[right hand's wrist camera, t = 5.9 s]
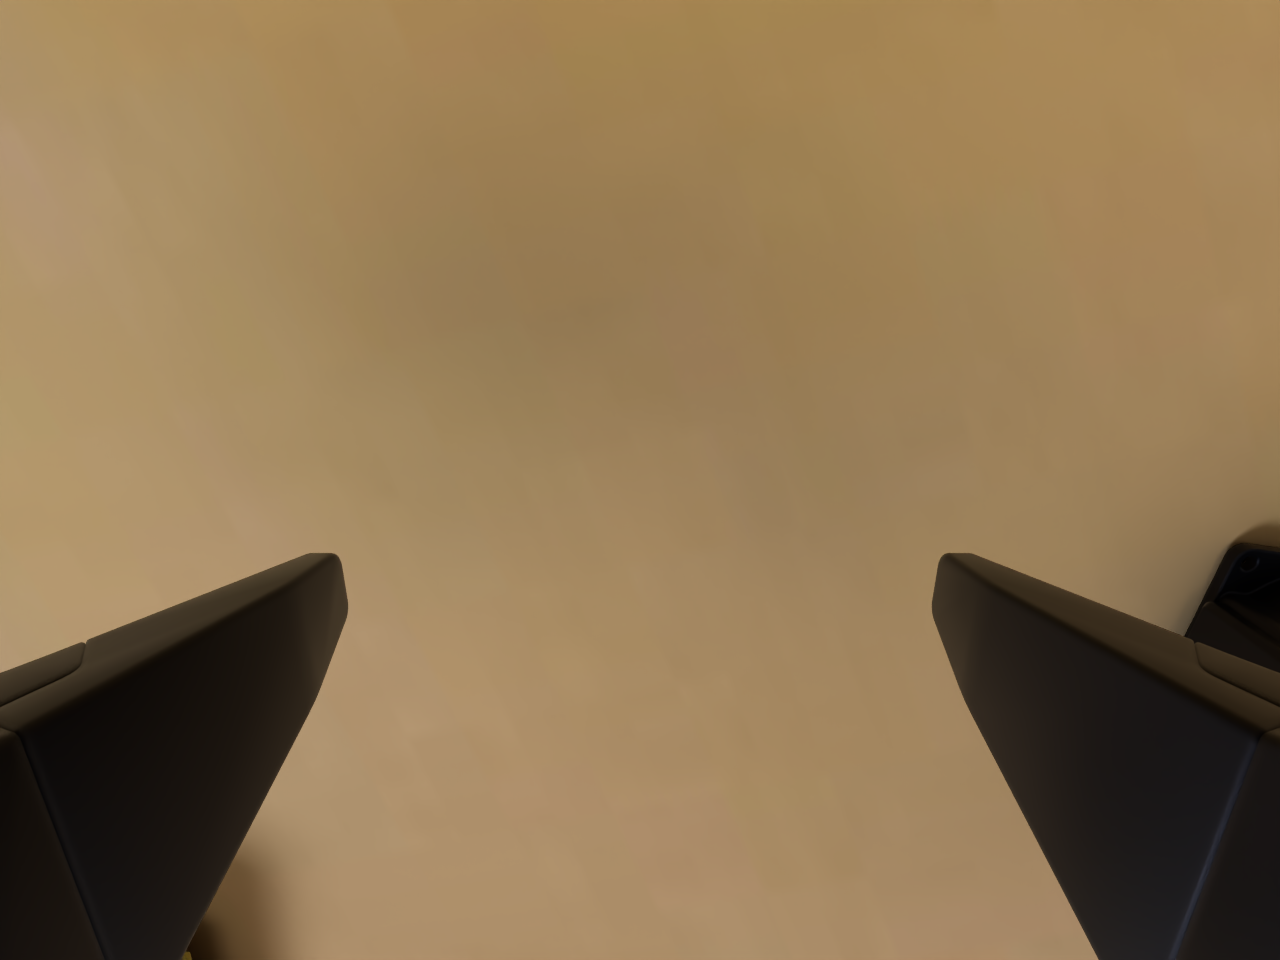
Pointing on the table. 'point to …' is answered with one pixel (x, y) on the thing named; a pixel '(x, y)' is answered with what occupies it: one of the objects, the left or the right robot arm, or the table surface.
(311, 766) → the table surface
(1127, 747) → the right robot arm
